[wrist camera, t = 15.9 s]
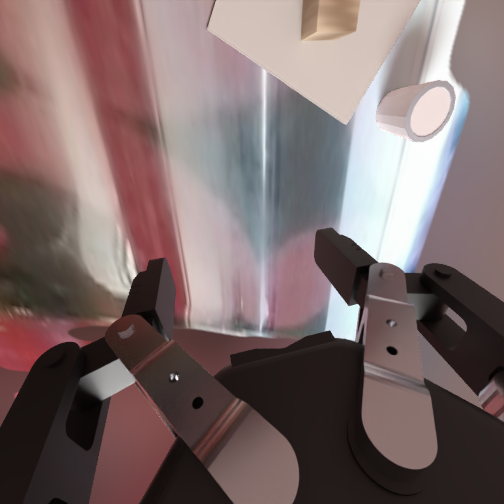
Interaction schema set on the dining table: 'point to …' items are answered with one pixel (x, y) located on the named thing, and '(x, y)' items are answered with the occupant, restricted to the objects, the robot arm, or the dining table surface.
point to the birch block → (328, 19)
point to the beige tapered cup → (417, 110)
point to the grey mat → (313, 47)
